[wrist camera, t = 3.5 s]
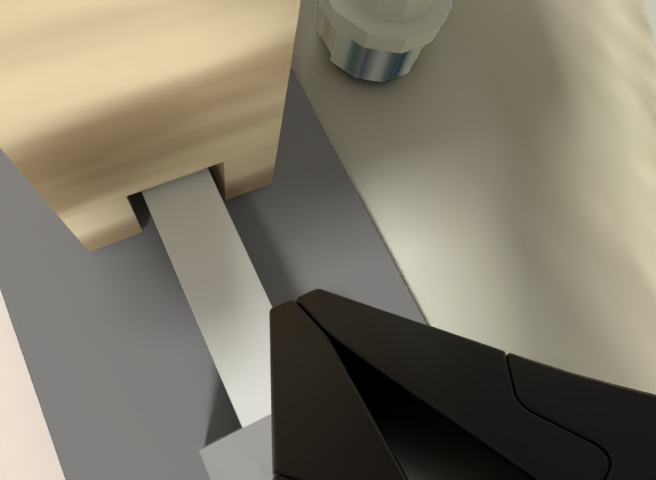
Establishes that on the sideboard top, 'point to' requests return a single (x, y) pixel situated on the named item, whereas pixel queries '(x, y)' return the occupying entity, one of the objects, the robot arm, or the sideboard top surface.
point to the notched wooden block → (140, 99)
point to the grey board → (184, 308)
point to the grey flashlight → (379, 34)
